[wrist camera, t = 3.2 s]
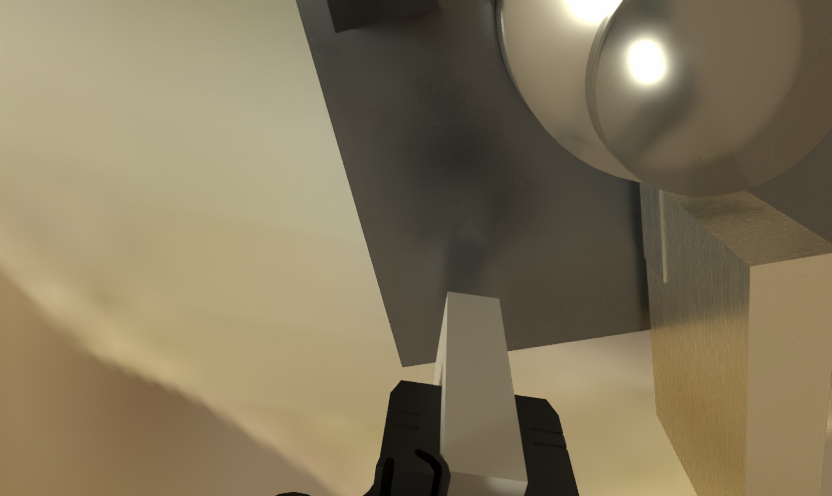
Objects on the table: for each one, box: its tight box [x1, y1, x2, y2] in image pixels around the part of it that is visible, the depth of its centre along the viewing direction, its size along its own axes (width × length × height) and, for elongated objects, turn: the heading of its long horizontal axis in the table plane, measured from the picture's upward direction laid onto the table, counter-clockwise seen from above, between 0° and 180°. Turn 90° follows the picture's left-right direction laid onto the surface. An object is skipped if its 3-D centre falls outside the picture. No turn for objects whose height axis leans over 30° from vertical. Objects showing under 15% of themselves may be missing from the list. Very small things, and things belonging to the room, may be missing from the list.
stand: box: [296, 0, 832, 367], centre depth 13 cm, size 19×20×5 cm
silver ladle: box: [496, 0, 832, 496], centre depth 12 cm, size 17×8×6 cm, turn 13°
